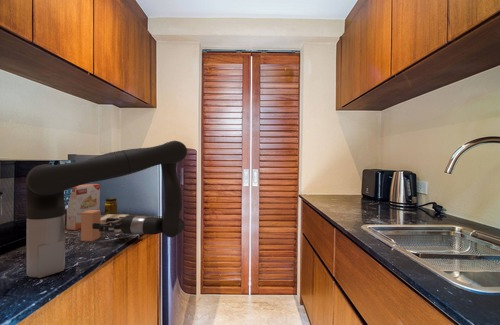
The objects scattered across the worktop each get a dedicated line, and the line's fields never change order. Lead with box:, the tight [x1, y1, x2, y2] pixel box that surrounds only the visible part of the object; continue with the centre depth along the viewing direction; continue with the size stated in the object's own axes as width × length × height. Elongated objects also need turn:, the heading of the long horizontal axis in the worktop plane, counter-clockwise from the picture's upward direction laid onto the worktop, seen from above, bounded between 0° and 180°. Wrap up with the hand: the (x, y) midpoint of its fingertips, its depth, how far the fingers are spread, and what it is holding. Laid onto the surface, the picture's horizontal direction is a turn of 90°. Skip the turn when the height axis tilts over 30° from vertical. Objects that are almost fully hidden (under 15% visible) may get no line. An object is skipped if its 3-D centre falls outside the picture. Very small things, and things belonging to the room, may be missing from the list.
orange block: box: [80, 209, 102, 242], centre depth 104 cm, size 5×5×12 cm
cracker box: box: [65, 183, 101, 231], centre depth 122 cm, size 14×6×21 cm, turn 168°
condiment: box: [104, 197, 118, 216], centre depth 135 cm, size 7×8×12 cm
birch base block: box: [101, 213, 131, 233], centre depth 120 cm, size 11×11×6 cm
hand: (100, 223), depth 104 cm, fingers open, 8 cm apart
